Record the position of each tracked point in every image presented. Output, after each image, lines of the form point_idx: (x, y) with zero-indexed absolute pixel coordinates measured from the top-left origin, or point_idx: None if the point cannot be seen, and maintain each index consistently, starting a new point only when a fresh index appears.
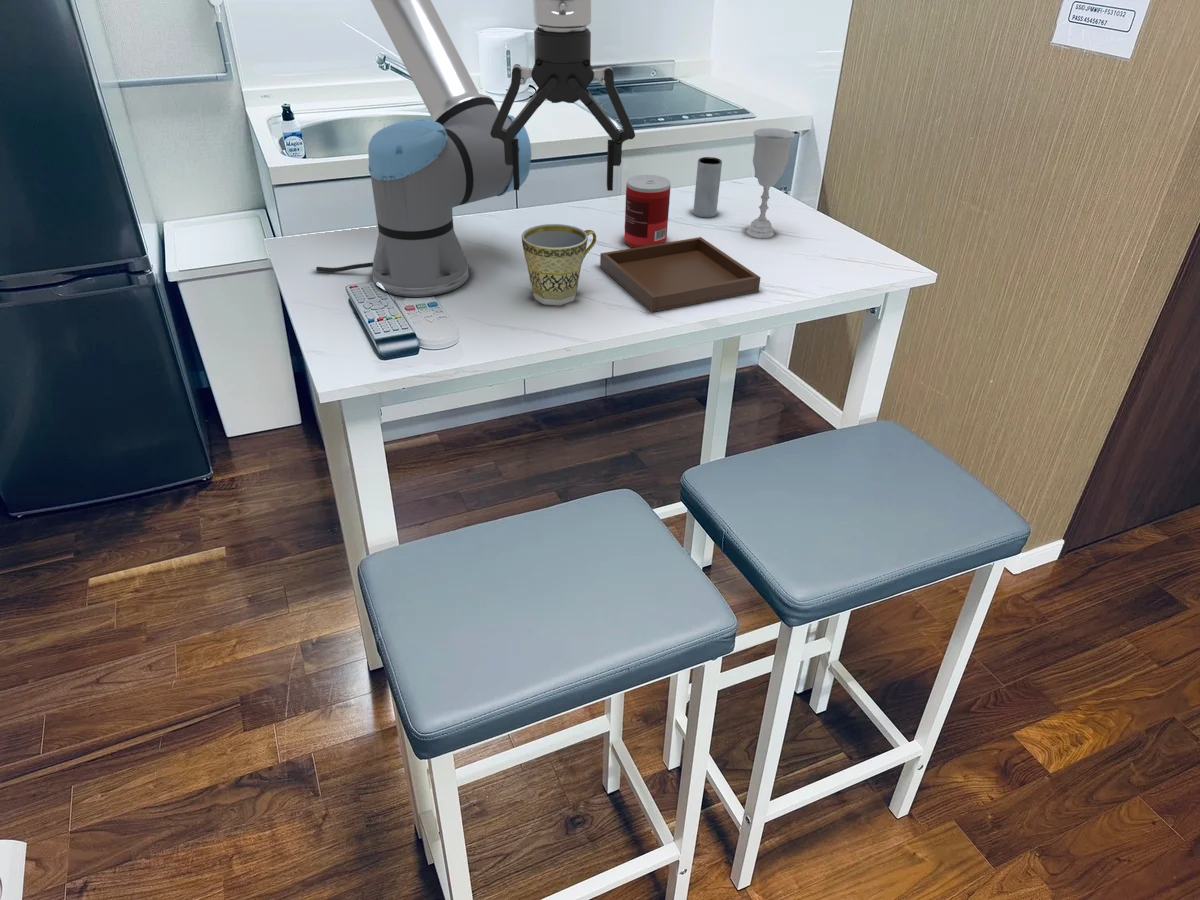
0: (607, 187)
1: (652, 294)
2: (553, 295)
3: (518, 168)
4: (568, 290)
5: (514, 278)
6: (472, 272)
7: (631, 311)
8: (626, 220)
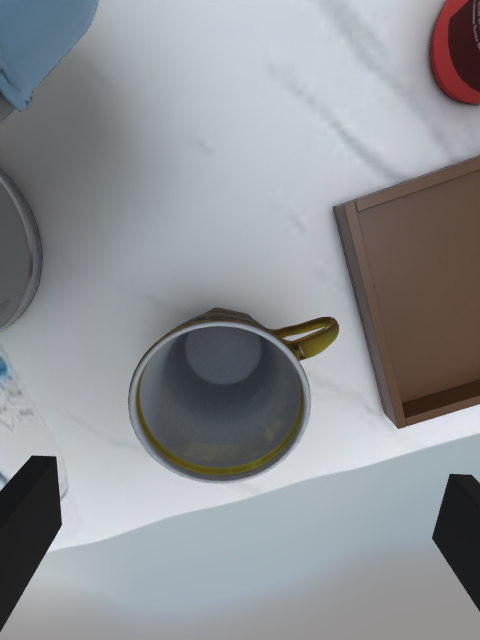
0: (440, 540)
1: (401, 418)
2: (217, 393)
3: (2, 604)
4: (247, 391)
5: (142, 256)
6: (47, 218)
7: (351, 406)
8: (471, 18)
